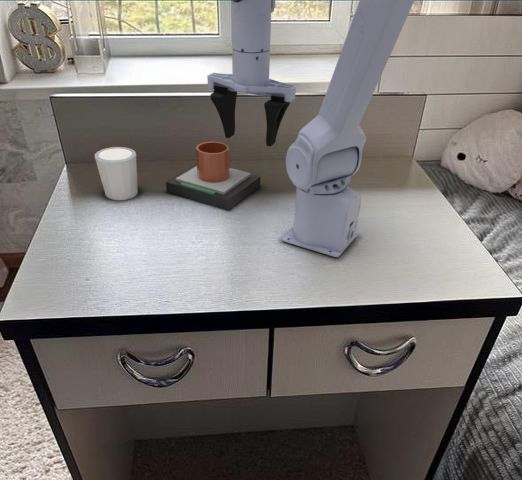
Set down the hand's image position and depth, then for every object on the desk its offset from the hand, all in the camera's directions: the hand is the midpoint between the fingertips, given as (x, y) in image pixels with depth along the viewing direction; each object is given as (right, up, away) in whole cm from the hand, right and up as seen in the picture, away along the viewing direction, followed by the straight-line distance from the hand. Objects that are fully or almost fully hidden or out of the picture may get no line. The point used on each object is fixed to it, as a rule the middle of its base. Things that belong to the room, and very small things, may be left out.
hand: (250, 140), depth 88 cm
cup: (-7, -4, +5) cm, 9 cm away
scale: (-7, -6, +7) cm, 11 cm away
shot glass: (-23, -8, +5) cm, 25 cm away
